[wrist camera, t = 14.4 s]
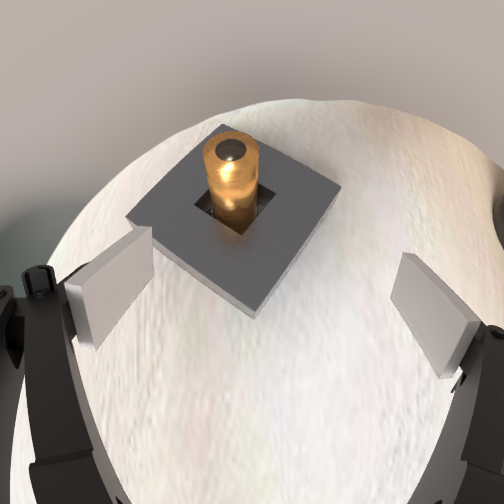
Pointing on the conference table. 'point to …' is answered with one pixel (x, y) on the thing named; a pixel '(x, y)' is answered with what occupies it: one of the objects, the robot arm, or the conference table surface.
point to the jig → (228, 241)
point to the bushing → (233, 178)
